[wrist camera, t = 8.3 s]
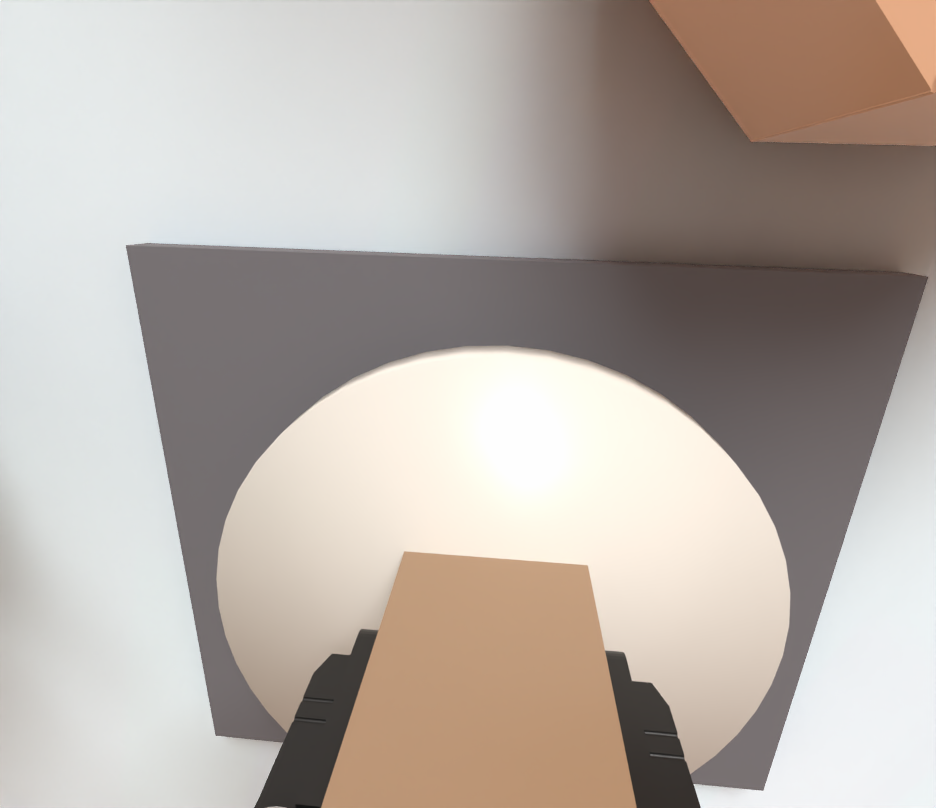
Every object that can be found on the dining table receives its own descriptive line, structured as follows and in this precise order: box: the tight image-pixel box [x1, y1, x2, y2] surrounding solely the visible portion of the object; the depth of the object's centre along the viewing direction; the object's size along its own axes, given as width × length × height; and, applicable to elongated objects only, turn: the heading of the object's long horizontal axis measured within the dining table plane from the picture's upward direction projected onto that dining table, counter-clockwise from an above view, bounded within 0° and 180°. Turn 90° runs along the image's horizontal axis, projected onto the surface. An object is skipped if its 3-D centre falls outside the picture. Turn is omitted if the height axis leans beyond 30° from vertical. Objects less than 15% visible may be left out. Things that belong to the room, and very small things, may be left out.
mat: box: [126, 243, 928, 791], centre depth 15 cm, size 18×16×1 cm
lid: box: [216, 346, 790, 808], centre depth 10 cm, size 13×13×7 cm
